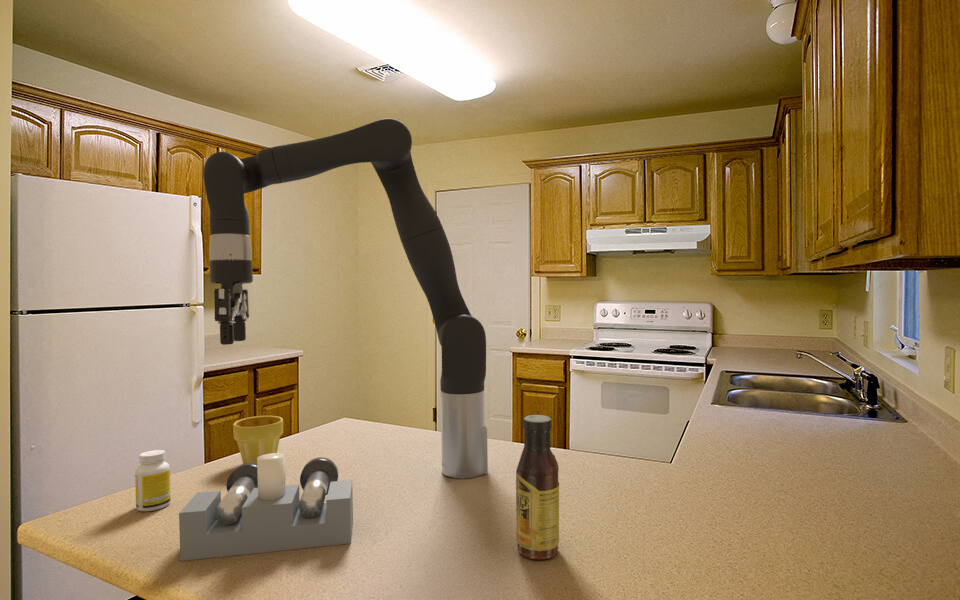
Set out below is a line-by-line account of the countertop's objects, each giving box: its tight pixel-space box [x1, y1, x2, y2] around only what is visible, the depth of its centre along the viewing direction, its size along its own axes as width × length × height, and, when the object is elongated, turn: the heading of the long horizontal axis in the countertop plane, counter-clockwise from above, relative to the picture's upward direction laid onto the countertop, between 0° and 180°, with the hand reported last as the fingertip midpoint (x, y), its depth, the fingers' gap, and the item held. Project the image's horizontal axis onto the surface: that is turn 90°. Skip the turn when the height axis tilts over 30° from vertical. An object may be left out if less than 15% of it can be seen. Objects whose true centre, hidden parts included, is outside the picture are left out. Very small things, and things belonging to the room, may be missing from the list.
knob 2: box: [299, 456, 339, 517], centre depth 90 cm, size 6×14×6 cm, turn 11°
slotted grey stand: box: [178, 479, 354, 562], centre depth 84 cm, size 24×8×7 cm, turn 101°
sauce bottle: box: [515, 414, 560, 561], centre depth 79 cm, size 7×6×20 cm
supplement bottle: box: [134, 449, 171, 512], centre depth 98 cm, size 5×5×10 cm
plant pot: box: [232, 415, 284, 464], centre depth 121 cm, size 10×10×10 cm
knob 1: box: [215, 463, 258, 525], centre depth 88 cm, size 6×14×6 cm, turn 11°
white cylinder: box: [257, 452, 286, 500], centre depth 84 cm, size 4×4×6 cm
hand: (233, 342), depth 105 cm, fingers open, 8 cm apart
